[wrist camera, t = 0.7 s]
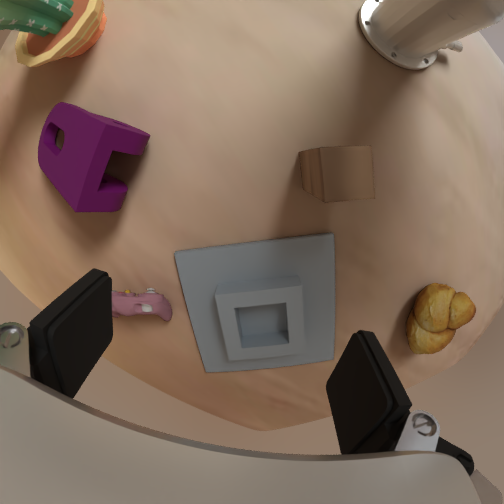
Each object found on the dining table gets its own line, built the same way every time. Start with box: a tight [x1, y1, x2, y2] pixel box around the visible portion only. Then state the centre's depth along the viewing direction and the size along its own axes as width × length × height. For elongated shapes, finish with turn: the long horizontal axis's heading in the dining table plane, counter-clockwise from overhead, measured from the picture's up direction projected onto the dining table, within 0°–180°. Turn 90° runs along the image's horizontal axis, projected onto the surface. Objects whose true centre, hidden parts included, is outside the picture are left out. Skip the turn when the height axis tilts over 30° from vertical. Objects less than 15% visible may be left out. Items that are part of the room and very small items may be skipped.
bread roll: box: [406, 283, 476, 354], centre depth 34 cm, size 13×10×8 cm
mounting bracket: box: [38, 102, 150, 212], centre depth 29 cm, size 10×8×18 cm
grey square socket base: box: [174, 233, 335, 372], centre depth 36 cm, size 20×20×4 cm
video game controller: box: [112, 288, 172, 321], centre depth 35 cm, size 10×5×7 cm, turn 91°
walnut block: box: [299, 146, 375, 203], centre depth 26 cm, size 4×4×11 cm
